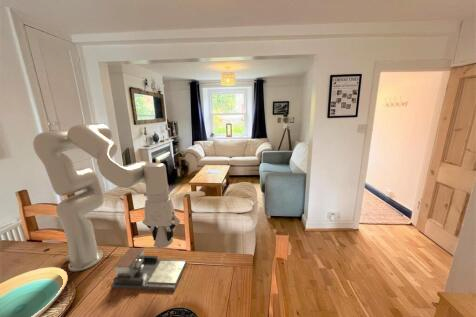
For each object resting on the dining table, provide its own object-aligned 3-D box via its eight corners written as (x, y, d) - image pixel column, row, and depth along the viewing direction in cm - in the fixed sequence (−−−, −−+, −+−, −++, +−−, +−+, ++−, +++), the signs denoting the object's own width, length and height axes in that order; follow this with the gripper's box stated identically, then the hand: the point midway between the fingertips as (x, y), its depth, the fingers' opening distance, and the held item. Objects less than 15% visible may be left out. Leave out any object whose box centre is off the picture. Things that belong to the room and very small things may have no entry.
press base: (111, 287, 74) (110, 280, 73) (133, 261, 88) (132, 254, 87) (174, 290, 72) (173, 283, 72) (186, 263, 86) (185, 256, 85)
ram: (116, 280, 76) (113, 265, 74) (132, 260, 85) (130, 248, 84) (135, 280, 75) (132, 266, 74) (148, 261, 85) (146, 248, 83)
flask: (176, 237, 79) (174, 215, 77) (168, 249, 72) (165, 225, 70) (159, 236, 80) (157, 214, 78) (150, 248, 73) (147, 224, 71)
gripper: (130, 199, 69) (137, 244, 73) (176, 200, 68) (180, 245, 72) (142, 191, 76) (147, 232, 80) (183, 192, 75) (187, 233, 79)
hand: (163, 238), depth 76 cm, fingers closed on flask, 4 cm apart
